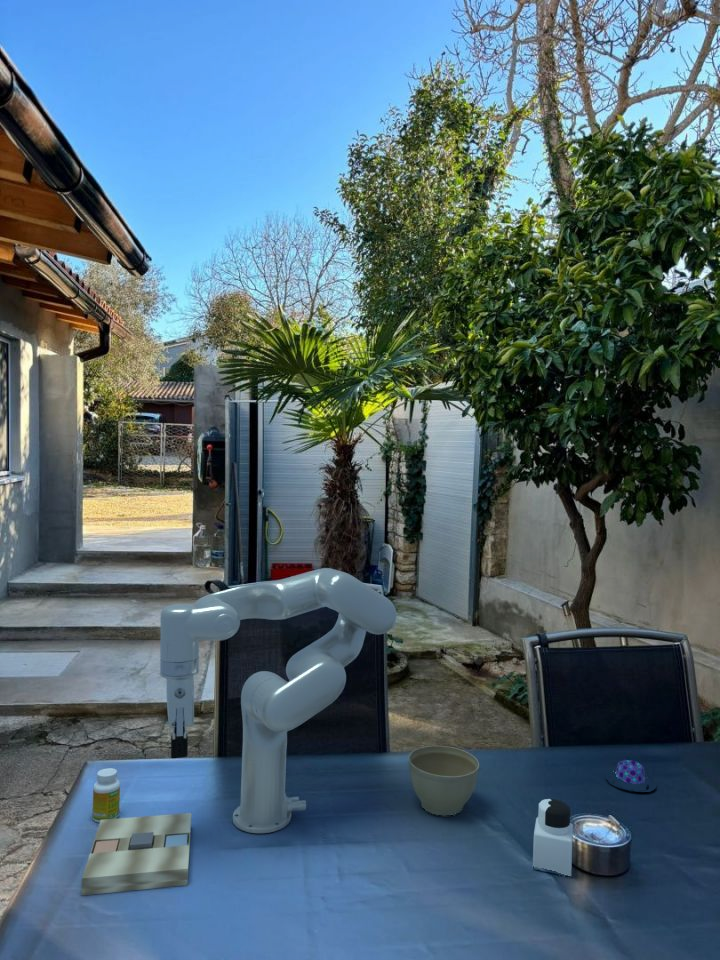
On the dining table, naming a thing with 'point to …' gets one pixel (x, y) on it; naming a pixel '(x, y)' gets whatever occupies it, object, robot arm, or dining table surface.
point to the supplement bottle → (106, 795)
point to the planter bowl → (443, 778)
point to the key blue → (176, 840)
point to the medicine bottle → (553, 837)
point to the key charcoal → (141, 841)
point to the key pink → (106, 846)
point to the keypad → (138, 856)
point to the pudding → (630, 772)
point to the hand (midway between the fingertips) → (179, 755)
